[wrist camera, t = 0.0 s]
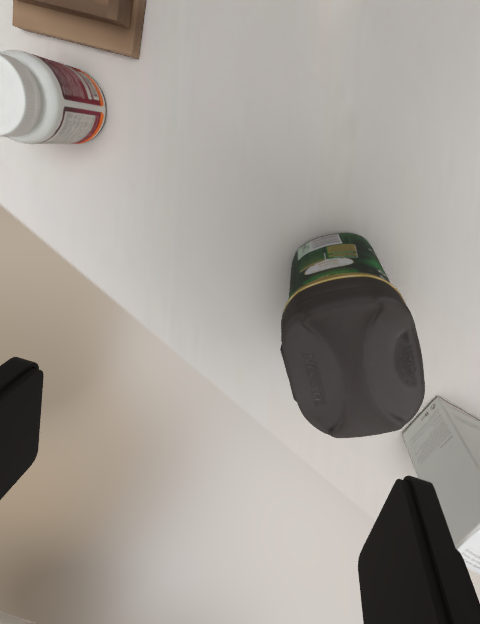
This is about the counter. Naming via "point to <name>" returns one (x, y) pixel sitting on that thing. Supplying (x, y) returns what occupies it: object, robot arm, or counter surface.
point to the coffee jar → (349, 341)
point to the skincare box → (451, 470)
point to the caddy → (86, 22)
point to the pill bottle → (47, 101)
